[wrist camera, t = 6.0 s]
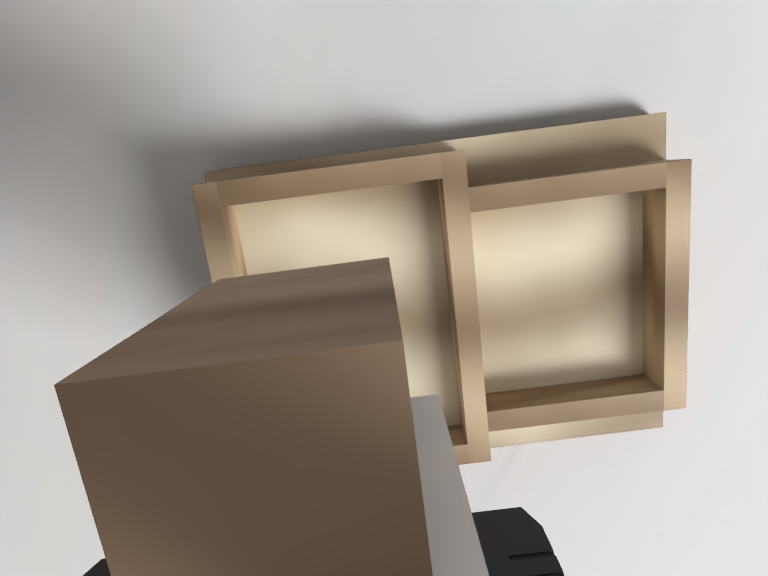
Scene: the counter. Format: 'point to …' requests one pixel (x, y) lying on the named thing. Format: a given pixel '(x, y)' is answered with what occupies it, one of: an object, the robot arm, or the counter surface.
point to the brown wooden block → (256, 433)
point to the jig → (496, 267)
